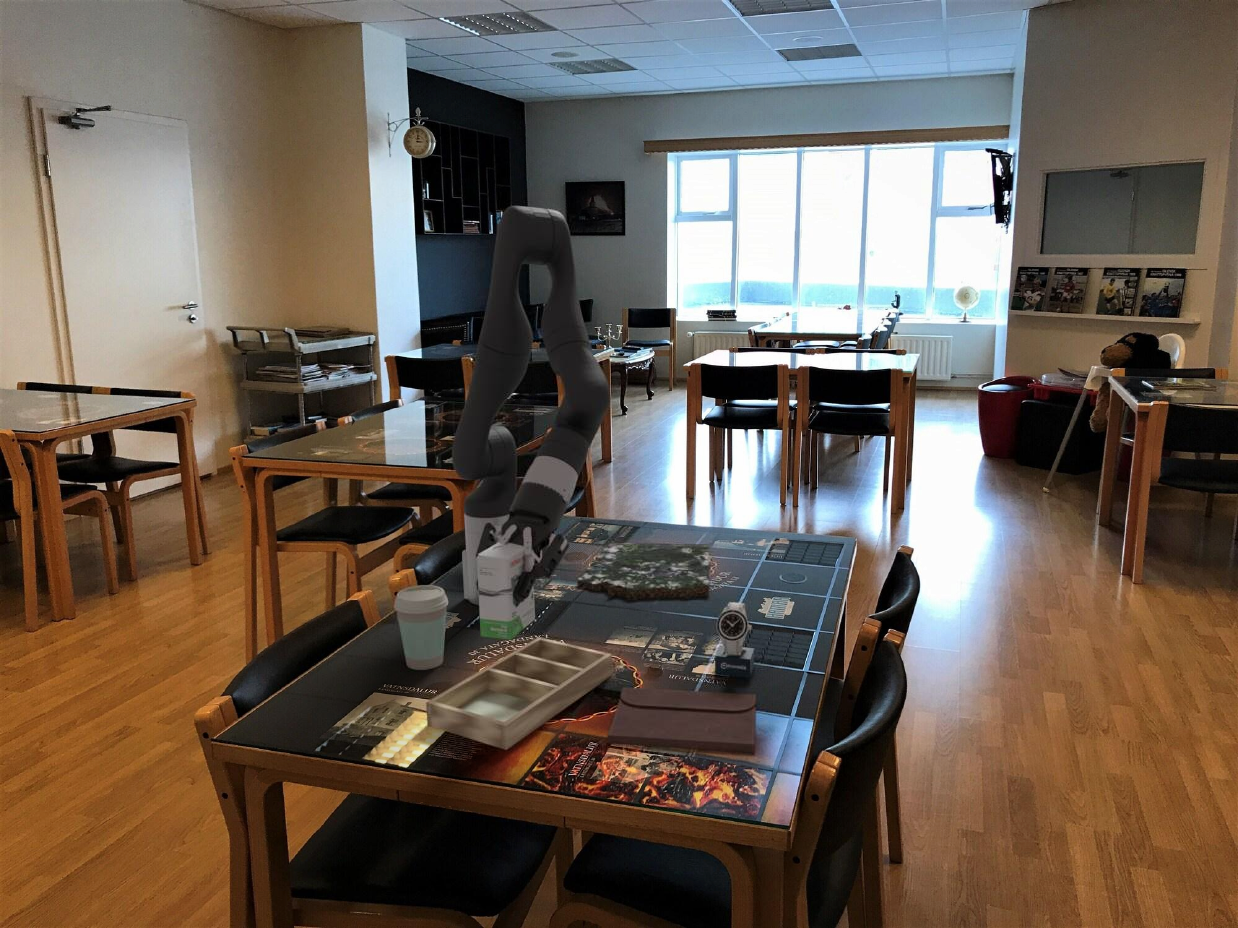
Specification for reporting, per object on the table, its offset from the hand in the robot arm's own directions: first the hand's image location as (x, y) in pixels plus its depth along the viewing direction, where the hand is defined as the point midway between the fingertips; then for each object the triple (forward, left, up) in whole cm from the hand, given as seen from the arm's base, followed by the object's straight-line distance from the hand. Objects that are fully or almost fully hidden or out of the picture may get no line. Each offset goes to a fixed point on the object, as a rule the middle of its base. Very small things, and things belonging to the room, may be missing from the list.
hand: (499, 595), depth 137 cm
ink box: (0, +2, -6) cm, 6 cm away
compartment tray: (-1, +6, -18) cm, 19 cm away
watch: (+22, +30, -19) cm, 42 cm away
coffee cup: (-23, +8, -19) cm, 30 cm away
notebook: (+23, +11, -19) cm, 32 cm away
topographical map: (-14, +65, -19) cm, 69 cm away
